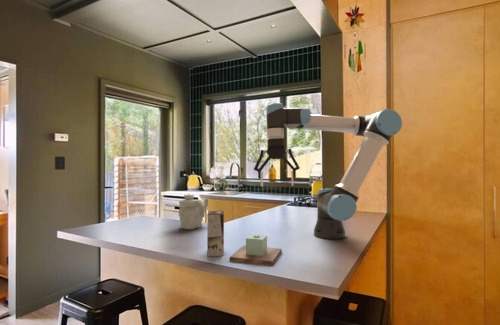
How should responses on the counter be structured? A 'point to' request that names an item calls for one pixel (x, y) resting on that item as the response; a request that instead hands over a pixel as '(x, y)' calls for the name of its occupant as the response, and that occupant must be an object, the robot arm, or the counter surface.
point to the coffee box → (215, 233)
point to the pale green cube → (256, 245)
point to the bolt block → (266, 259)
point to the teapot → (192, 212)
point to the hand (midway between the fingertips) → (277, 186)
